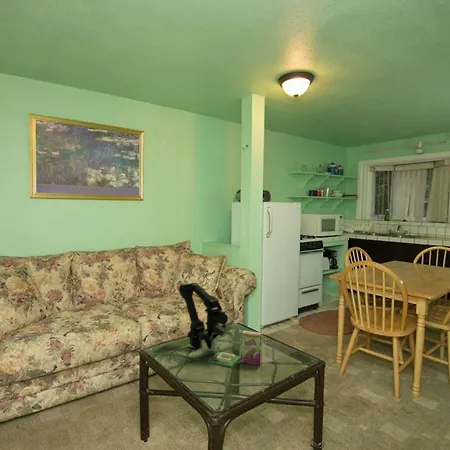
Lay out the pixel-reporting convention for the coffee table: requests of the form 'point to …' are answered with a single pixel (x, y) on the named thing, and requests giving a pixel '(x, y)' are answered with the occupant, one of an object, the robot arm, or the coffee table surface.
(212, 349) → the plug
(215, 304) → the robot arm
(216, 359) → the board
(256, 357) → the candy bar box
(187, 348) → the coffee table surface
